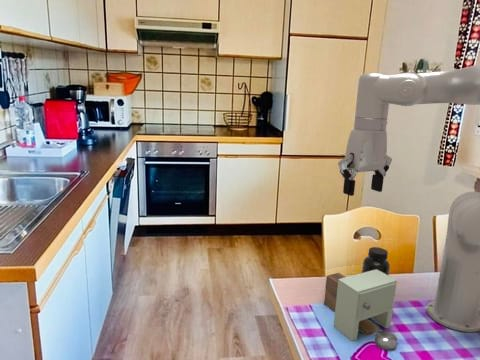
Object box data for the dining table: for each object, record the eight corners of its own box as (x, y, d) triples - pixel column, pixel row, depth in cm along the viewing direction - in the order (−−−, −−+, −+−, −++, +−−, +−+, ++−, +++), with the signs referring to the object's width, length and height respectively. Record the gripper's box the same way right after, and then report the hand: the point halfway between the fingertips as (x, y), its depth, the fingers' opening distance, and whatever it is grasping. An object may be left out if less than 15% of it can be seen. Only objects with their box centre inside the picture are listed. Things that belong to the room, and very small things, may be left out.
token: (384, 336, 88) (385, 328, 88) (400, 347, 84) (401, 339, 84) (370, 341, 86) (371, 333, 86) (386, 353, 82) (387, 345, 82)
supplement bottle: (364, 297, 104) (369, 255, 101) (356, 284, 111) (361, 245, 108) (390, 297, 104) (395, 256, 102) (380, 284, 111) (385, 245, 108)
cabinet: (370, 313, 97) (376, 269, 94) (394, 329, 90) (401, 282, 88) (333, 326, 91) (338, 279, 88) (355, 344, 85) (361, 294, 82)
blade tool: (335, 300, 102) (338, 272, 100) (378, 331, 90) (383, 300, 88) (323, 304, 100) (326, 275, 98) (366, 336, 88) (370, 304, 86)
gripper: (383, 123, 103) (375, 185, 107) (332, 124, 95) (326, 192, 99) (407, 126, 96) (398, 192, 100) (355, 127, 88) (347, 200, 92)
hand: (362, 192), depth 100 cm, fingers open, 9 cm apart
